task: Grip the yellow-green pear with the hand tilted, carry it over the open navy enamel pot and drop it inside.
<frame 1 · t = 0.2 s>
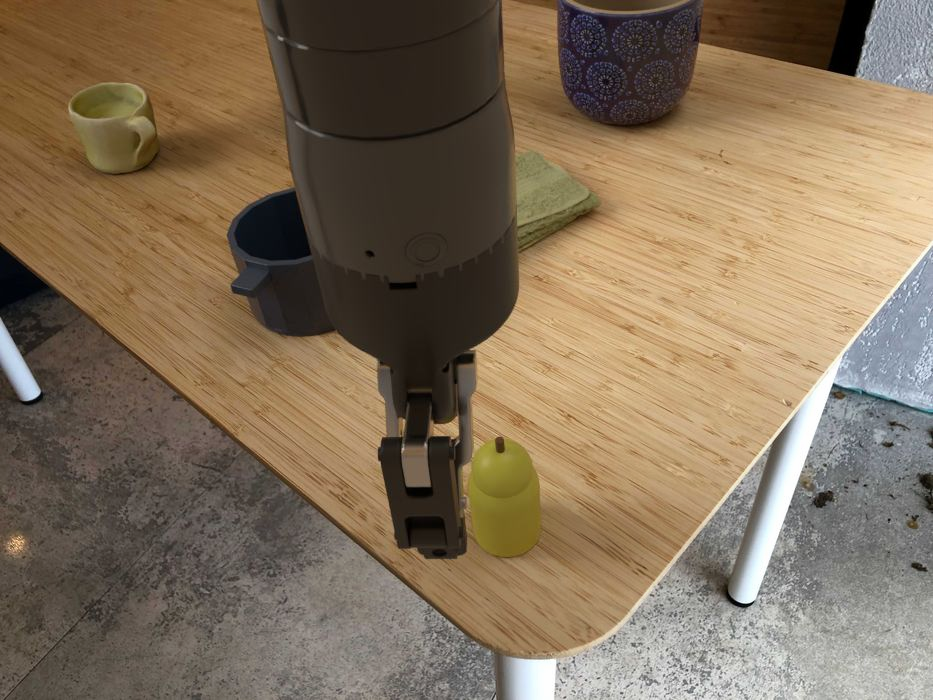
hand: (447, 472, 41), 20 cm above the table, tool pointing down, fingers open, 8 cm apart
planter: (624, 106, 107), on the table
pear: (507, 528, 62), on the table
mug: (136, 162, 107), on the table
pot: (313, 294, 84), on the table
washcloth: (504, 218, 91), on the table
lid: (353, 200, 95), point 1 cm above the table
jar: (334, 118, 111), on the table
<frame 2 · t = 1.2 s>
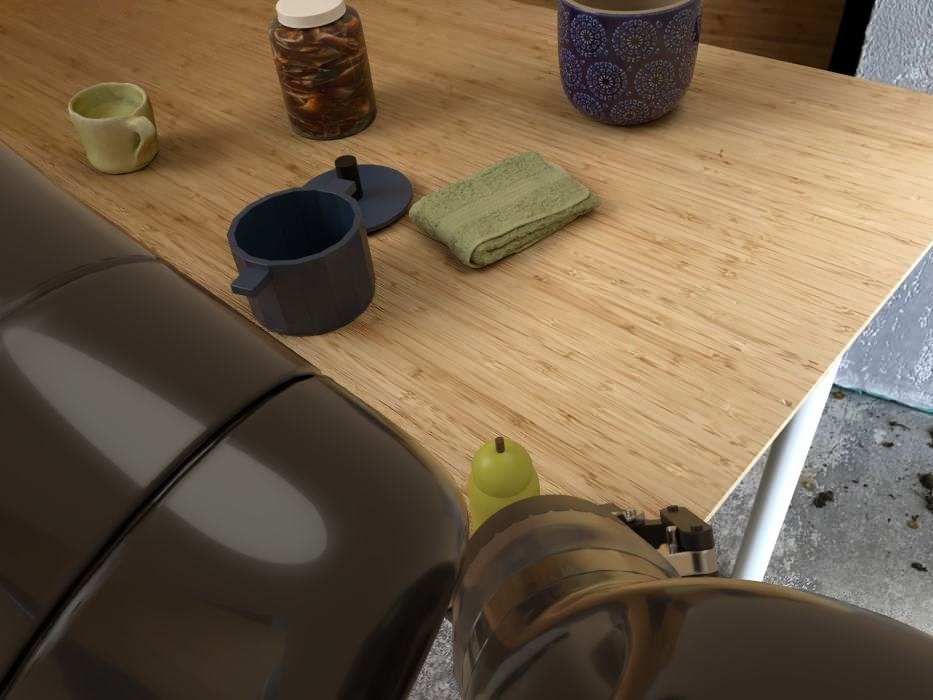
hand: (524, 535, 43), 16 cm above the table, tool tilted 45°, fingers open, 8 cm apart
nothing on the table moved.
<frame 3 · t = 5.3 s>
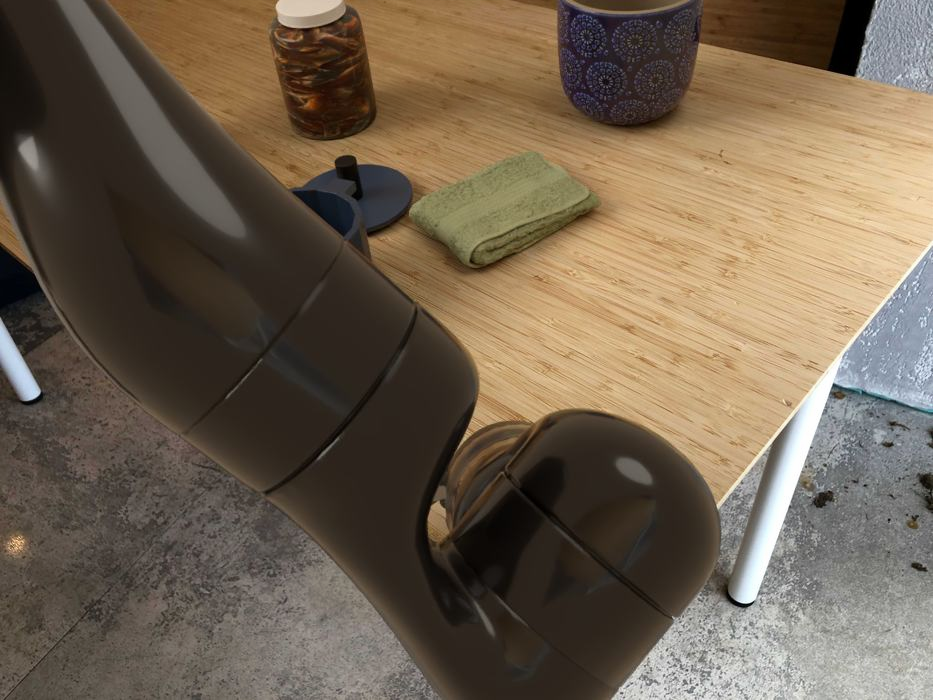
hand: (499, 464, 60), 5 cm above the table, tool tilted 45°, fingers closed on pear, 5 cm apart
pear: (507, 527, 62), on the table, touching gripper
everything else where it was.
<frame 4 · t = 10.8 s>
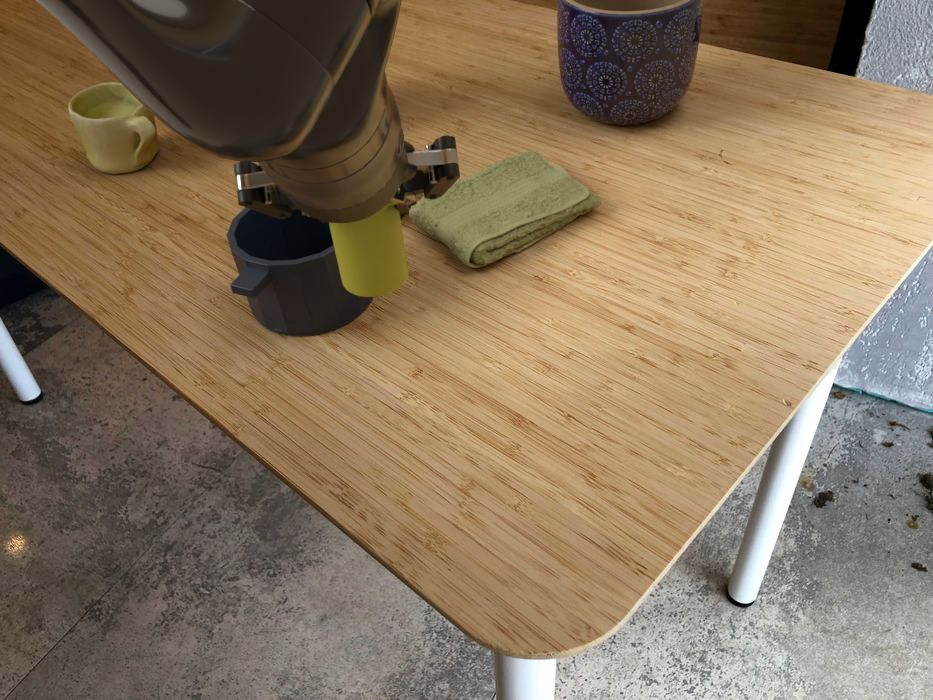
hand: (363, 203, 61), 19 cm above the table, tool tilted 45°, fingers closed on pear, 5 cm apart
pear: (375, 275, 63), point 14 cm above the table, touching gripper
everything else where it was.
when the fingers open (9 cm above the table, at t = 16.8 s): pear drops 3 cm, resting on pot.
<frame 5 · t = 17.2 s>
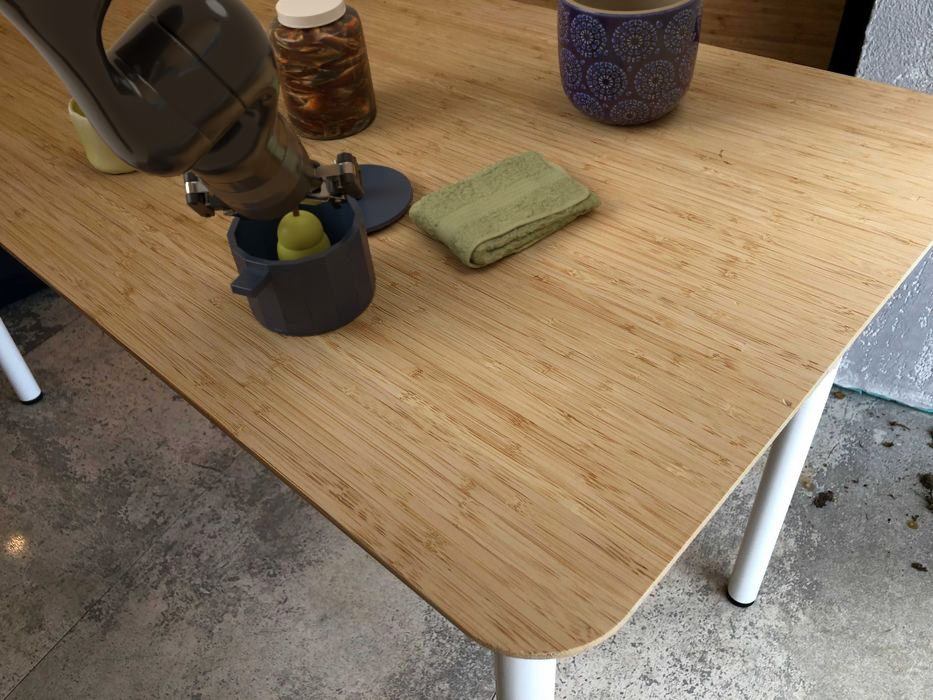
hand: (291, 204, 78), 10 cm above the table, tool tilted 45°, fingers open, 8 cm apart
pear: (313, 289, 84), point 1 cm above the table, touching pot
everything else where it was.
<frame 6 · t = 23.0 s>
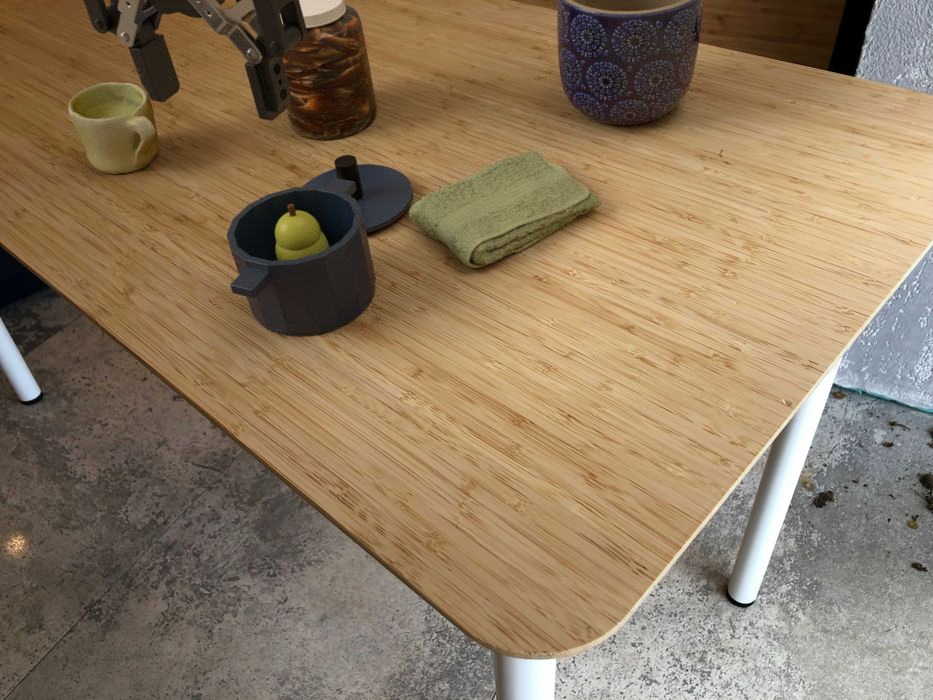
hand: (219, 105, 54), 28 cm above the table, tool pointing down, fingers open, 8 cm apart
nothing on the table moved.
at the end: pear inside the target area in the pot (0.1 cm from its centre), point 0.5 cm above the pot's base; the gripper is holding nothing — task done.
